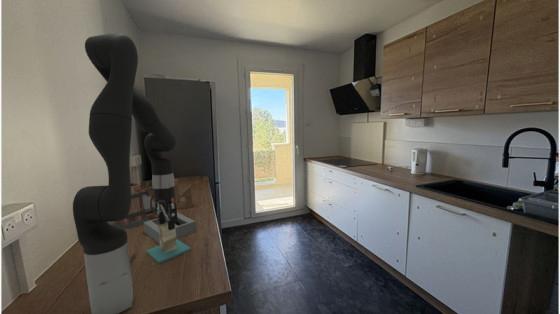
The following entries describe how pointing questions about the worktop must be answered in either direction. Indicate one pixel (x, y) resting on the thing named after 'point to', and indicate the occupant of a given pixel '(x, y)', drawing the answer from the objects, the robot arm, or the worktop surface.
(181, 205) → the wooden block
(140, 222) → the tankard
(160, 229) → the birch block
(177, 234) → the open gray rectangular frame
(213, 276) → the worktop surface
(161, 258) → the mat
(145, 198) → the coffee pot
